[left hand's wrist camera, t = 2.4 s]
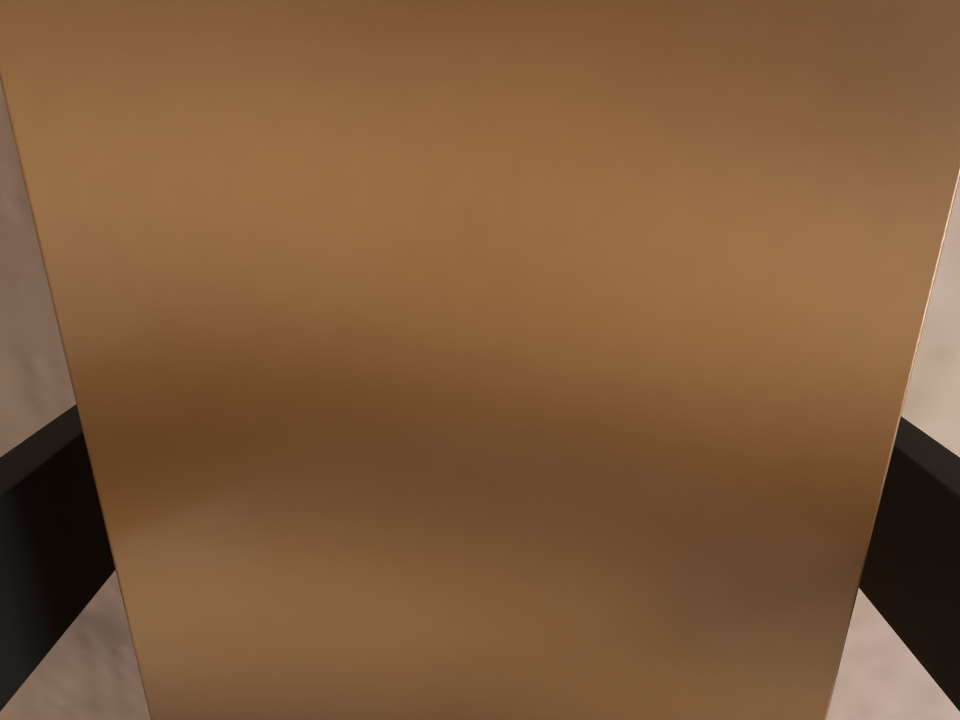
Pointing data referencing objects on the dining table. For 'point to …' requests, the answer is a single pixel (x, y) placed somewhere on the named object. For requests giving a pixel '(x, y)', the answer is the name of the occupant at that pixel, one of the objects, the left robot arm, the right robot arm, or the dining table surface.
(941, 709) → the dining table surface
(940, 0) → the thick board
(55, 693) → the dining table surface
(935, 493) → the left robot arm
